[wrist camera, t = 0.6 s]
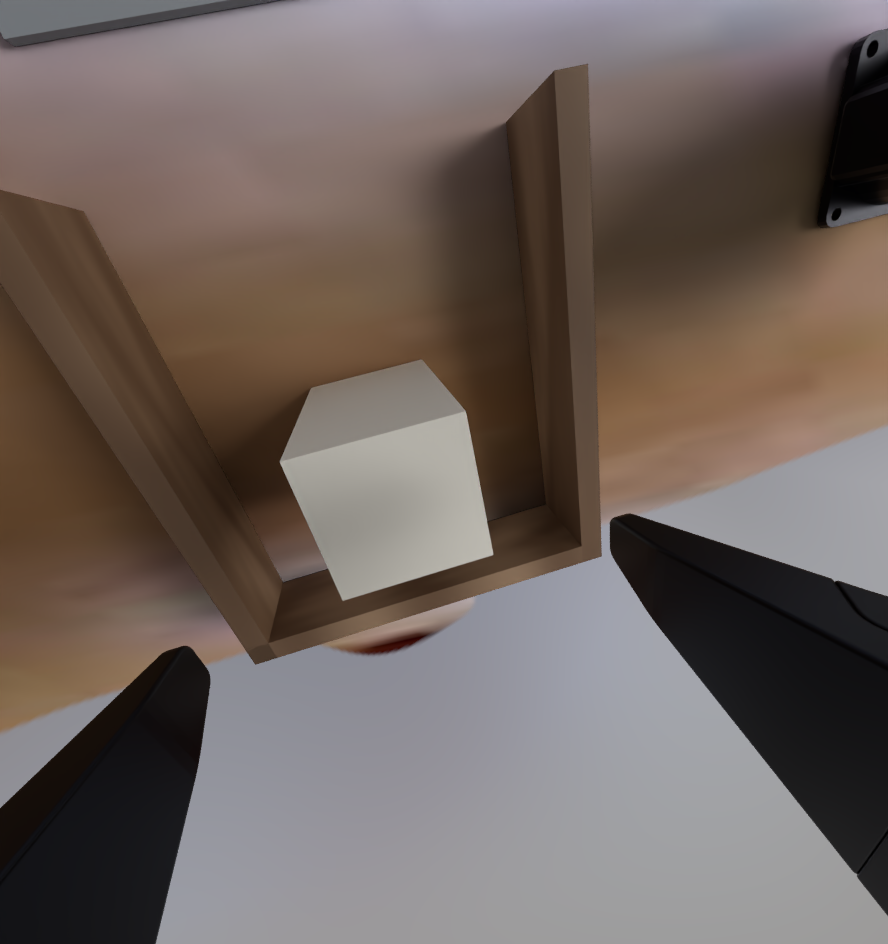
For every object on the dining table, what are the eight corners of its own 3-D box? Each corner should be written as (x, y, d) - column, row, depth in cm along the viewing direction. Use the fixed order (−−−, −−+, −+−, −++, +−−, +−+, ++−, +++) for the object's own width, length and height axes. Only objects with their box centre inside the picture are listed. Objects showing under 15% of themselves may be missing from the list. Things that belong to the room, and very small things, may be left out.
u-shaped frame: (531, 116, 15) (587, 63, 11) (563, 513, 23) (601, 556, 19) (52, 217, 13) (-60, 194, 10) (272, 601, 21) (255, 664, 18)
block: (421, 359, 18) (465, 411, 11) (444, 457, 20) (493, 554, 13) (311, 387, 17) (279, 462, 10) (347, 485, 19) (342, 600, 12)
